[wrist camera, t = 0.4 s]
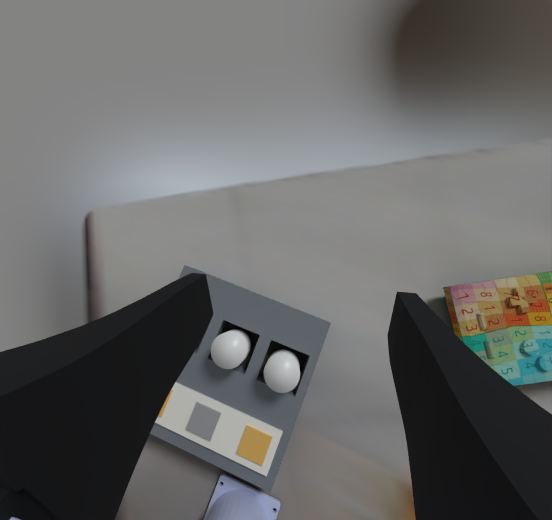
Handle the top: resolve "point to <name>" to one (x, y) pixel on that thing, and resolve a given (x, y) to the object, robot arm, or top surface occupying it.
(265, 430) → the board
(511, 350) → the puzzle game
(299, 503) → the top surface
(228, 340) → the button middle
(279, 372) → the button
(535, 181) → the top surface
